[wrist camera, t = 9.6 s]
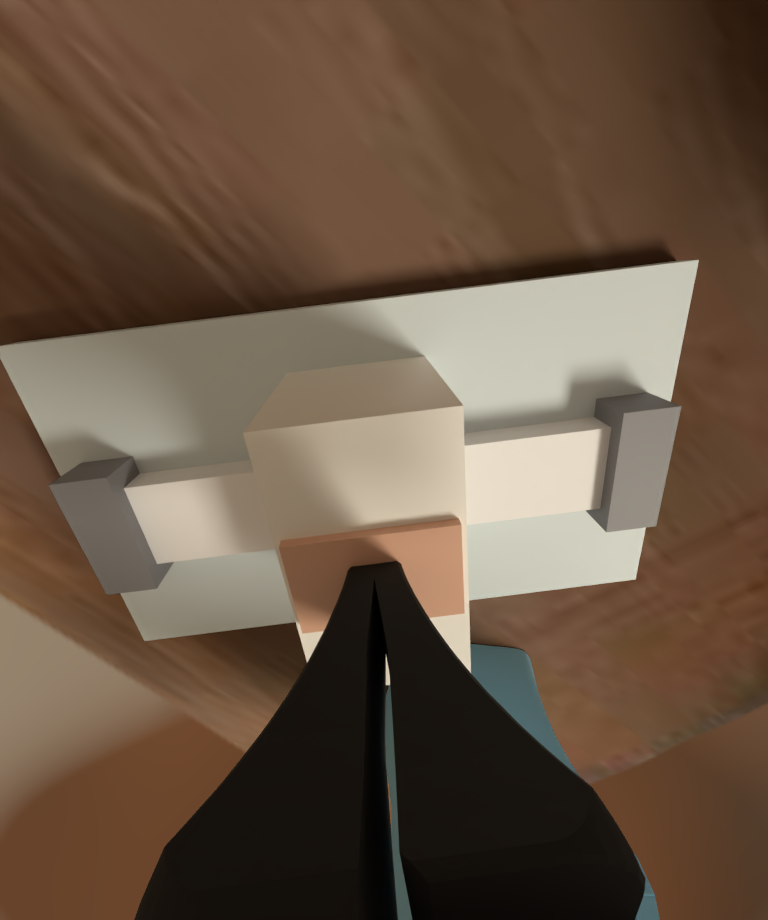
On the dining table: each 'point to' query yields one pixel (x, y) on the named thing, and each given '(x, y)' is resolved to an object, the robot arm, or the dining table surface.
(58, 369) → the rail board
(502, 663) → the vase
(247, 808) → the robot arm
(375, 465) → the block
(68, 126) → the dining table surface
